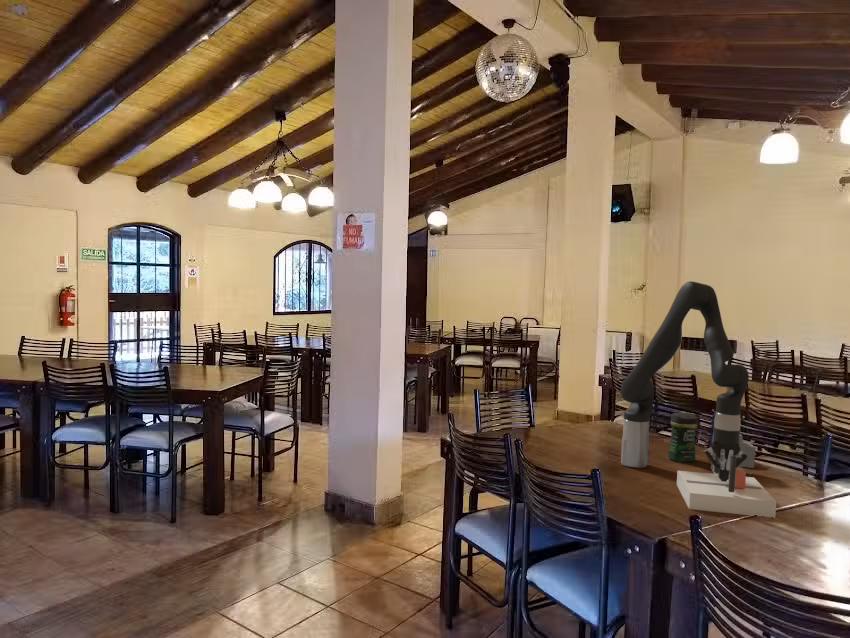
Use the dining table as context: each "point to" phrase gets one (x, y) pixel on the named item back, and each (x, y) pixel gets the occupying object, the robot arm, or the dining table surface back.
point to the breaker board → (724, 495)
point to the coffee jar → (682, 437)
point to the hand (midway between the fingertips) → (723, 480)
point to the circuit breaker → (746, 449)
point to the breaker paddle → (740, 478)
